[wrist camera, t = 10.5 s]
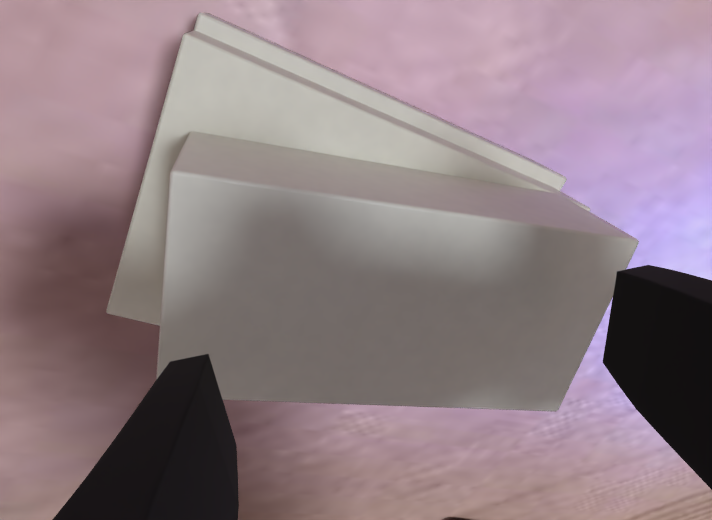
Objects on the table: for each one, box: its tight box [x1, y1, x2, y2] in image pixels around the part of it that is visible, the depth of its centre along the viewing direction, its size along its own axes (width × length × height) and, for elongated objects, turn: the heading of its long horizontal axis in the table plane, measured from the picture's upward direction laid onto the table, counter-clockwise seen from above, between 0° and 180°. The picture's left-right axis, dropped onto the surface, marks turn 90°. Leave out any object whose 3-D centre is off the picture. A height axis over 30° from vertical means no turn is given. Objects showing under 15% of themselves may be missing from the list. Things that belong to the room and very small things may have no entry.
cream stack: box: [106, 13, 590, 326], centre depth 14 cm, size 7×11×4 cm, turn 66°
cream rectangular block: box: [156, 131, 639, 411], centre depth 11 cm, size 4×9×3 cm, turn 77°
